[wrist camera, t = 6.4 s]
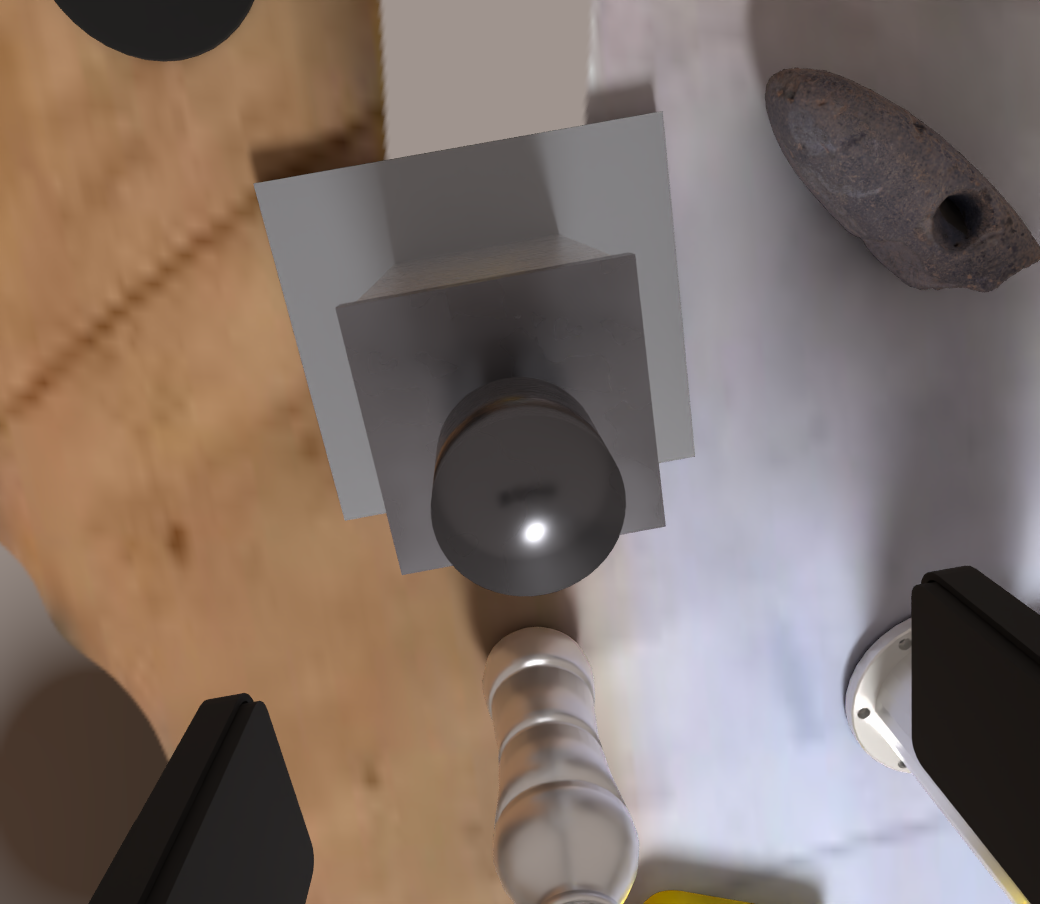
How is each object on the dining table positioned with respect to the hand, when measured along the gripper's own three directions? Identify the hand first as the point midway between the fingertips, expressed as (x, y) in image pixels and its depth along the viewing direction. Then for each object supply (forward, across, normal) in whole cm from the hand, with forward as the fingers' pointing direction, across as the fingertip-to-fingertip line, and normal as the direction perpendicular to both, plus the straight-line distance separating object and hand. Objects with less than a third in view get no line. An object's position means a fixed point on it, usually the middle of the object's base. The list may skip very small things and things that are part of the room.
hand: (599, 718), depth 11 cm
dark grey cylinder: (+26, +1, -1) cm, 26 cm away
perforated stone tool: (+32, -19, -5) cm, 37 cm away
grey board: (+31, +1, -1) cm, 31 cm away
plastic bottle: (+32, +2, +20) cm, 38 cm away
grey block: (+30, +1, 0) cm, 30 cm away
